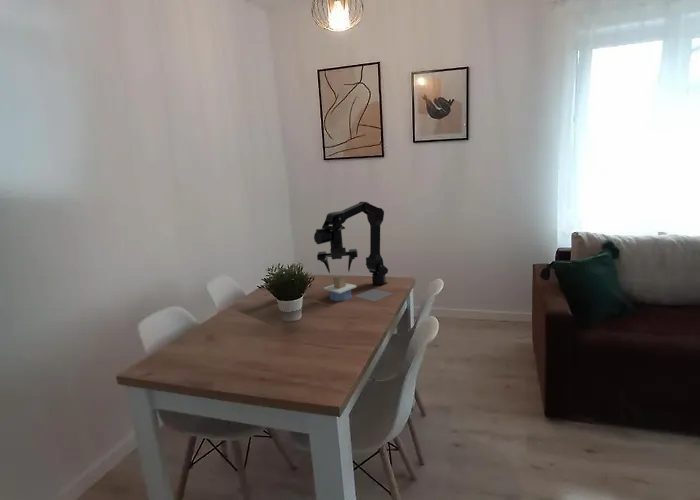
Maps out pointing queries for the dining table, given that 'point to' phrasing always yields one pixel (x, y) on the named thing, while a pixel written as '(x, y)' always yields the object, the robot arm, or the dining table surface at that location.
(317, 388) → the dining table surface
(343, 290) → the lid
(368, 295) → the mat
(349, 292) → the bowl
